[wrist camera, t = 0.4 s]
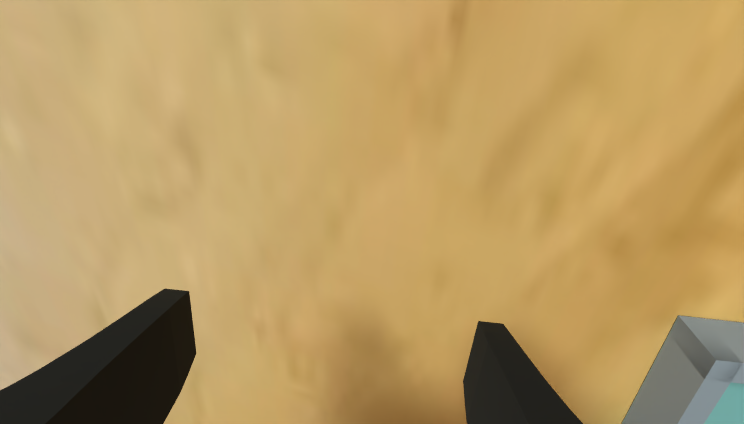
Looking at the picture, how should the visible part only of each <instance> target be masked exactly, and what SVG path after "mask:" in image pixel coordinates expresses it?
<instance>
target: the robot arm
mask: <svg viewBox="0 0 744 424" xmlns="http://www.w3.org/2000/svg"><path fill="white" fill-rule="evenodd" d="M195 355H196V347H195V338H194V330H193V321H192V313H191V304H190V296H189V291H182V290H172V289H164V290H162V291H160V292H159V293H157V294H156V295H154V296H152V297H151V298H149V299H148V300H146V301H145V302H143V303H142V304H141V305H139V306H138V307H136V308H135V309H133V310H132V311H130V312H129V313H127V314H126V315H124V316H123V317H121V318H120V319H118V320H117V321H115V322H114V323H112V324H111V325H109V326H108V327H106V328H105V329H103V330H102V331H100V332H99V333H97V334H96V335H94V336H93V337H91V338H90V339H88V340H86V341H85V342H83V343H82V344H80V345H78V346H77V347H75V348H73V349H72V350H70V351H69V352H67V353H65V354H64V355H62V356H60V357H59V358H57V359H55V360H54V361H52V362H50V363H49V364H47V365H46V366H44V367H42V368H41V369H39V370H37V371H35V372H34V373H32V374H30V375H28V376H27V377H25V378H23V379H21V380H19V381H17V382H16V383H14V384H12V385H10V386H8V387H6V388H4V389H2V390H0V424H163V423H164V421H165V419H166V418H167V416H168V414H169V412H170V410H171V409H172V407H173V405H174V403H175V401H176V399H177V398H178V396H179V394H180V392H181V390H182V387H183V385H184V383H185V380H186V378H187V376H188V373H189V371H190V368H191V365H192V363H193V360H194V358H195ZM463 384H464V397H465V409H466V419H467V424H583V423H582V422H581V421H580V420H579V419H578V418H577V417H576V415H575V414H574V413H573V412H572V411H571V410H570V409H569V408H568V406H567V405H566V404H565V403H564V402H563V401H562V399H561V398H560V397H559V396H558V394H557V393H556V392H555V391H554V389H553V388H552V387H551V386H550V385H549V383H548V382H547V381H546V380H545V378H544V377H543V376H542V375H541V373H540V372H539V371H538V369H537V368H536V367H535V366H534V364H533V363H532V362H531V360H530V359H529V358H528V356H527V355H526V354H525V352H524V351H523V350H522V348H521V347H520V346H519V344H518V343H517V342H516V340H515V339H514V338H513V336H512V335H511V334H510V332H509V331H508V330H507V328H506V327H505V326H504V324H500V323H491V322H481V321H478V325H477V329H476V333H475V336H474V340H473V344H472V348H471V352H470V356H469V360H468V364H467V368H466V372H465V376H464V380H463Z"/></svg>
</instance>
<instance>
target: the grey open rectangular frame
mask: <svg viewBox="0 0 744 424" xmlns="http://www.w3.org/2000/svg"><path fill="white" fill-rule="evenodd" d="M730 383H740V384H744V323H741V322H732V321H723V320H714V319H705V318H696V317H687V316H678V317H677V319H676V321H675V323H674V325H673V327H672V329H671V331H670V332H669V334H668V336H667V338H666V340H665V342H664V344H663V346H662V348H661V350H660V352H659V353H658V355H657V357H656V359H655V361H654V363H653V365H652V367H651V369H650V371H649V373H648V374H647V376H646V378H645V380H644V382H643V384H642V386H641V388H640V390H639V392H638V393H637V395H636V397H635V399H634V401H633V403H632V405H631V407H630V409H629V411H628V413H627V414H626V416H625V418H624V420H623V422H622V424H704V423H705V421H706V420H707V418H708V417H709V415H710V414H711V412H712V410H713V409H714V407H715V406H716V404H717V403H718V401H719V400H720V398H721V397H722V395H723V394H724V392H725V390H726V389H727V387H728V386H729V384H730Z"/></svg>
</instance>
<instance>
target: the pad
mask: <svg viewBox="0 0 744 424" xmlns="http://www.w3.org/2000/svg"><path fill="white" fill-rule="evenodd" d="M704 424H744V384H740V383H730V384H729V386H728V387H727V389H726V390H725V392H724V394H723V395H722V397H721V398H720V400H719V401H718V403H717V404H716V406H715V407H714V409H713V410H712V412H711V414H710V415H709V417H708V418H707V420H706V421H705V423H704Z"/></svg>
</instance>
